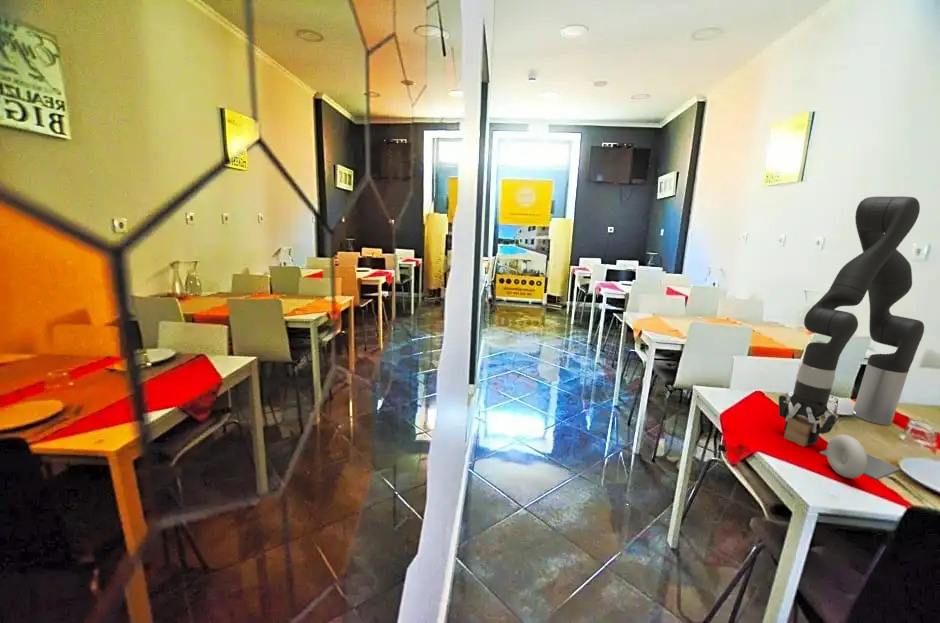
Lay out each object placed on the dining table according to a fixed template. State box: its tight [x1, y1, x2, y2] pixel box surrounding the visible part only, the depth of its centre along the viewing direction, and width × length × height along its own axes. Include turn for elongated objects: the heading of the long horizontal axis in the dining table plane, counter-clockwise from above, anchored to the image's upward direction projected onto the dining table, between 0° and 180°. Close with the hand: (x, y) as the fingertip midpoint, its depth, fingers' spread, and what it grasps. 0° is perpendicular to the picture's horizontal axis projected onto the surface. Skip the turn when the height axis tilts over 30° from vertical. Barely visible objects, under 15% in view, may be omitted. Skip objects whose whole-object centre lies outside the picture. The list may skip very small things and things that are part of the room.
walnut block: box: [783, 416, 812, 448], centre depth 117 cm, size 5×5×6 cm
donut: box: [826, 434, 867, 479], centre depth 101 cm, size 10×4×10 cm, turn 174°
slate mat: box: [819, 449, 901, 480], centre depth 109 cm, size 12×12×1 cm
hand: (799, 438), depth 118 cm, fingers closed on walnut block, 5 cm apart
